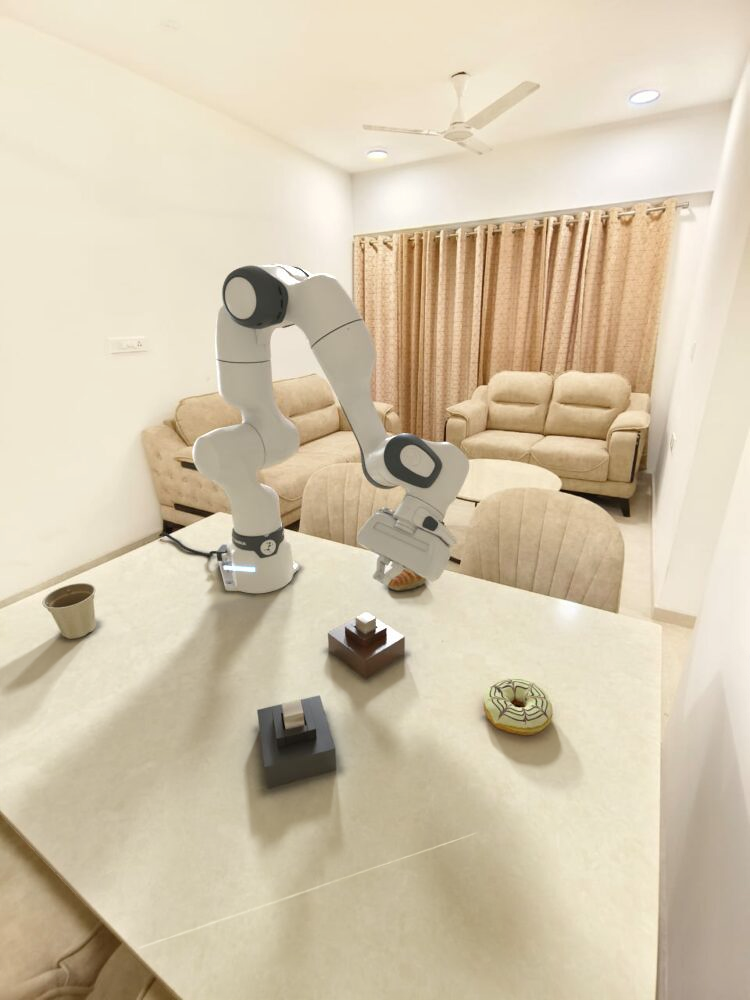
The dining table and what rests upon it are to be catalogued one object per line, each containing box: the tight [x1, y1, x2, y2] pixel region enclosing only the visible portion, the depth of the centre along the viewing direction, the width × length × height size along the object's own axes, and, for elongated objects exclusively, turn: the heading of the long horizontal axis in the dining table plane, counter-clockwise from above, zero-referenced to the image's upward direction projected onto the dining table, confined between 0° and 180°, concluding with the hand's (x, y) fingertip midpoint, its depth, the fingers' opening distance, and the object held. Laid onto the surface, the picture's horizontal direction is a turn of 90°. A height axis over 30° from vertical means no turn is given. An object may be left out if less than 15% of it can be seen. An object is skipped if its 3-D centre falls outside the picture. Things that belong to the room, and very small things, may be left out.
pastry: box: [387, 568, 427, 592], centre depth 120 cm, size 9×7×4 cm
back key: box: [354, 611, 377, 634], centre depth 95 cm, size 3×3×2 cm
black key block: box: [256, 695, 337, 790], centre depth 75 cm, size 11×10×6 cm
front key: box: [281, 699, 305, 730], centre depth 74 cm, size 3×3×2 cm
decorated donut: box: [483, 677, 554, 736], centre depth 81 cm, size 10×11×4 cm
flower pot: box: [42, 582, 97, 640], centre depth 103 cm, size 9×9×9 cm
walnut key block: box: [327, 618, 406, 680], centre depth 96 cm, size 11×10×6 cm
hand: (379, 582), depth 94 cm, fingers closed
